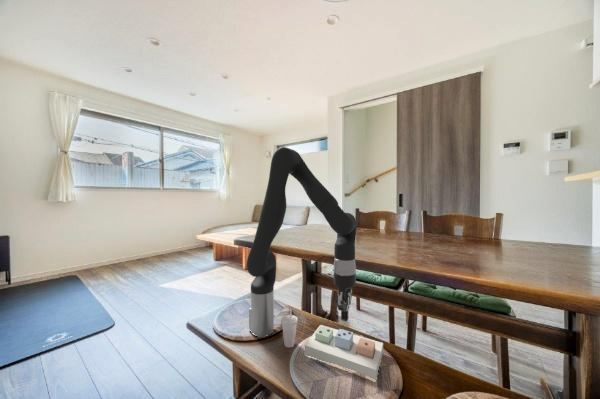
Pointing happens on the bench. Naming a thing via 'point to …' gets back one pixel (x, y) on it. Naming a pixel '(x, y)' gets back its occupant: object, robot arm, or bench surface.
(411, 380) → the bench surface
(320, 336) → the tile two
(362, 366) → the board
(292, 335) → the smoothie
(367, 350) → the tile one
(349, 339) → the tile three
